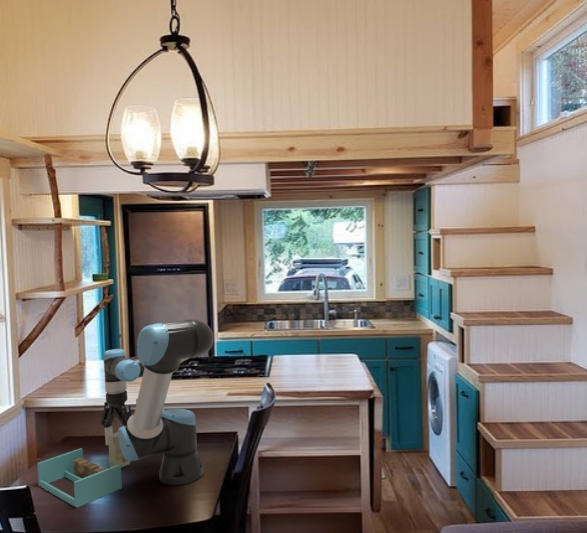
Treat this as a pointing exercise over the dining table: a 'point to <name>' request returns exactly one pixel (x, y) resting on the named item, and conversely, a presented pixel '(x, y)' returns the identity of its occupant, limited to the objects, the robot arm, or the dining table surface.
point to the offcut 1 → (79, 467)
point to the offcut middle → (89, 469)
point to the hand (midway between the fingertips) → (119, 447)
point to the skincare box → (116, 452)
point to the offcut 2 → (99, 470)
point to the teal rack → (78, 479)
